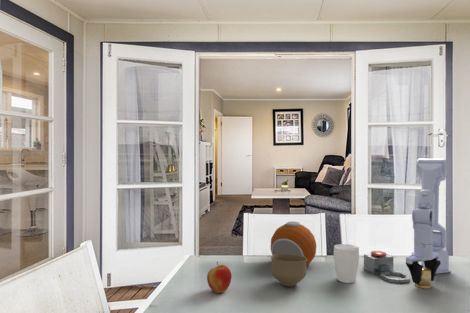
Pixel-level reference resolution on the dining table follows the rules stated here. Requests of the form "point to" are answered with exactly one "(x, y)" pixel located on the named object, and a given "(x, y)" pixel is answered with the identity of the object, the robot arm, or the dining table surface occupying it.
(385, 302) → the dining table surface
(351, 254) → the cup
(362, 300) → the dining table surface
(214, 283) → the apple
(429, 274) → the knob
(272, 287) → the dining table surface
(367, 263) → the red button switch
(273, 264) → the bowl
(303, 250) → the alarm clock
